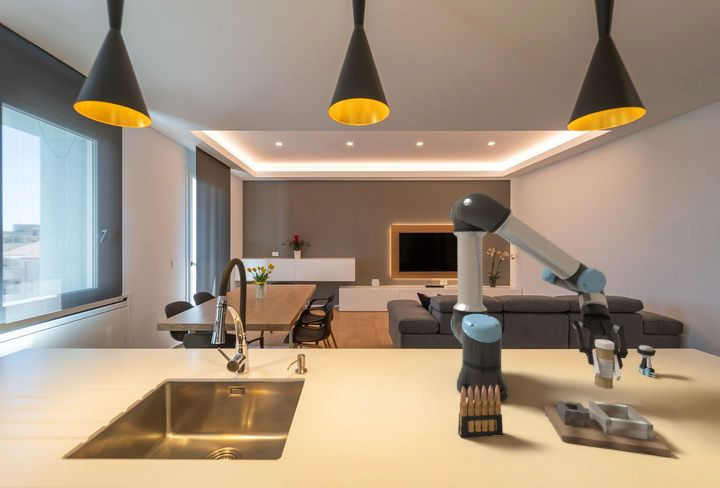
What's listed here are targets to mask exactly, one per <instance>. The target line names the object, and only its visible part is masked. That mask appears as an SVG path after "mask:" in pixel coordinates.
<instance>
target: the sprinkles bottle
mask: <svg viewBox="0 0 720 488" xmlns="http://www.w3.org/2000/svg"><path fill="white" fill-rule="evenodd" d="M614 342H615V341H614ZM614 342H612V341H609V340H605V339H604V338H602V339H601V338H599V339H594V346H595V352H596V356H597V361H598V366H599V372H600V374H599V376H598V377H595V376H594V383H593V384H594V385H595V386H597V387H599V388H602V389H604V390H605V389H606V390H612V389H614V370H613V368H614V359H613V351H614Z"/></svg>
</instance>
